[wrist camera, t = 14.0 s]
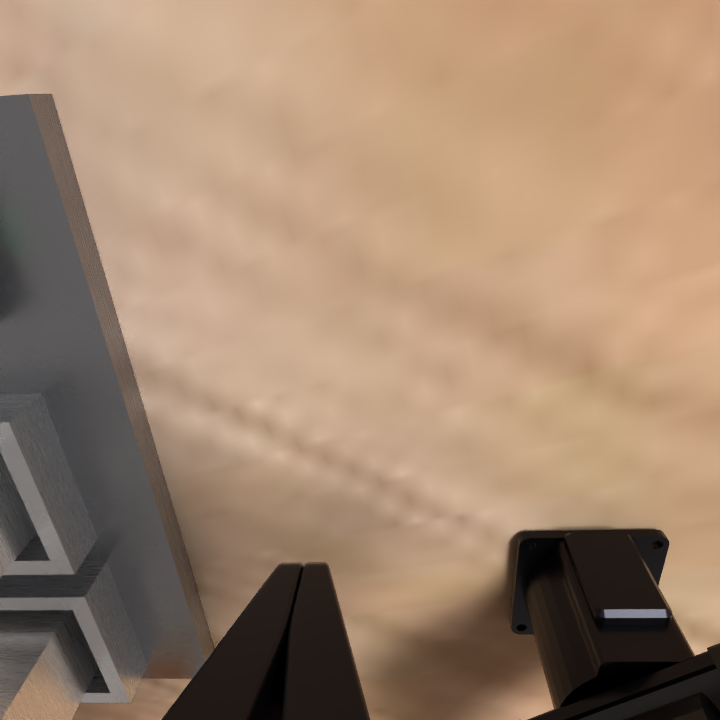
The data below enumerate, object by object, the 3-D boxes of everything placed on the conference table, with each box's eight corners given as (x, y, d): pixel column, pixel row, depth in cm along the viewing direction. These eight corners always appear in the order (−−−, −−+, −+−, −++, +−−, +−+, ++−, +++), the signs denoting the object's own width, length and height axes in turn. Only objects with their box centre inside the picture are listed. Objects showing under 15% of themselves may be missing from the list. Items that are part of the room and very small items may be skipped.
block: (109, 644, 27) (27, 807, 21) (28, 644, 28) (-76, 805, 21) (83, 585, 25) (-15, 745, 19) (-3, 585, 26) (-128, 743, 19)
